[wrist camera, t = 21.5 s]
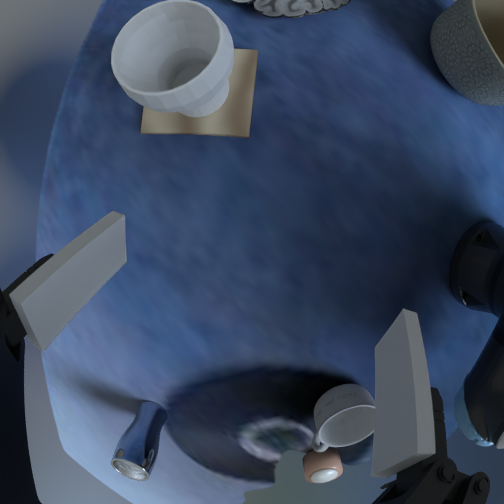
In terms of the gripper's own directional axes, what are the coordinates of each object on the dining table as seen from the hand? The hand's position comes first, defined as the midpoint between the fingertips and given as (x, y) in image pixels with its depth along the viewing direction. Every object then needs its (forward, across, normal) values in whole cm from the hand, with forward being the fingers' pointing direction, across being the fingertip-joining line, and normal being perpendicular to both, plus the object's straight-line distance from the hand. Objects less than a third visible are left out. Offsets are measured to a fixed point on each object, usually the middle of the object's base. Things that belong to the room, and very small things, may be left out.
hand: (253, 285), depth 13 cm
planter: (+40, +20, +22) cm, 50 cm away
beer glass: (+10, -12, -47) cm, 50 cm away
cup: (+26, -15, +5) cm, 30 cm away
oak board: (+27, -16, +4) cm, 31 cm away
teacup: (+19, +18, -36) cm, 45 cm away
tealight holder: (+13, +24, -53) cm, 59 cm away
